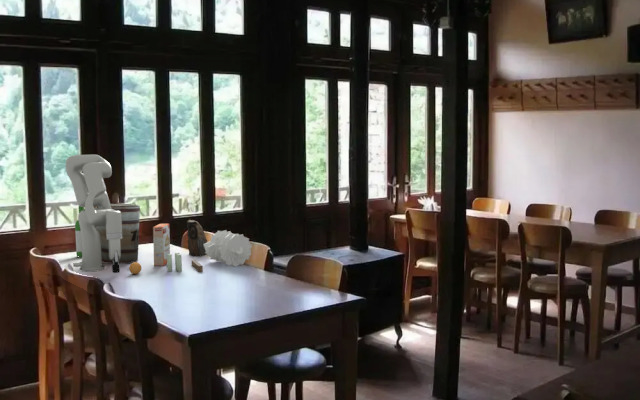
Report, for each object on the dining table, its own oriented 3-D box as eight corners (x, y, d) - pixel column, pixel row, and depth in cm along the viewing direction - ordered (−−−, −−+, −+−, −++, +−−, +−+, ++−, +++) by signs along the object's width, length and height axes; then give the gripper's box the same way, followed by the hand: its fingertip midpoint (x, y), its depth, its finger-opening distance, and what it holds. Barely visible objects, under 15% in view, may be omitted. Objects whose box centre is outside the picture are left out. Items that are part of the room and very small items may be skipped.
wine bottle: (86, 258, 389) (83, 205, 386) (73, 257, 391) (71, 205, 388) (93, 255, 397) (91, 203, 394) (81, 255, 399) (78, 203, 395)
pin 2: (177, 271, 349) (177, 255, 348) (176, 270, 351) (176, 254, 350) (182, 271, 350) (181, 254, 349) (181, 270, 352) (180, 254, 351)
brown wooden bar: (198, 272, 348) (198, 266, 347) (191, 265, 364) (191, 260, 364) (202, 271, 348) (202, 265, 348) (195, 265, 365) (195, 259, 365)
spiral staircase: (224, 266, 380) (248, 271, 360) (197, 256, 370) (220, 261, 350) (235, 235, 384) (259, 238, 364) (209, 224, 374) (232, 227, 354)
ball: (130, 275, 341) (129, 263, 340) (128, 273, 346) (128, 261, 346) (142, 274, 343) (142, 262, 342) (140, 272, 349) (140, 260, 348)
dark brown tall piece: (200, 257, 388) (198, 222, 386) (180, 256, 392) (179, 221, 390) (211, 253, 400) (210, 219, 398) (192, 252, 404) (190, 218, 402)
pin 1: (175, 269, 353) (175, 253, 353) (174, 269, 356) (174, 252, 355) (180, 269, 354) (179, 253, 353) (179, 268, 357) (179, 252, 356)
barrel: (146, 260, 382) (148, 206, 380) (114, 264, 363) (116, 207, 361) (119, 255, 394) (121, 203, 392) (86, 259, 375) (88, 204, 373)
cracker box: (165, 266, 364) (163, 226, 362) (153, 266, 364) (152, 226, 362) (171, 260, 378) (169, 223, 376) (160, 261, 378) (158, 223, 376)
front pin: (167, 271, 349) (167, 255, 349) (166, 270, 352) (166, 254, 351) (172, 271, 350) (171, 254, 349) (171, 270, 353) (171, 254, 352)
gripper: (105, 234, 345) (106, 270, 346) (107, 238, 331) (109, 276, 333) (120, 233, 347) (122, 269, 349) (123, 237, 333) (125, 274, 335)
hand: (116, 272), depth 341 cm, fingers closed
